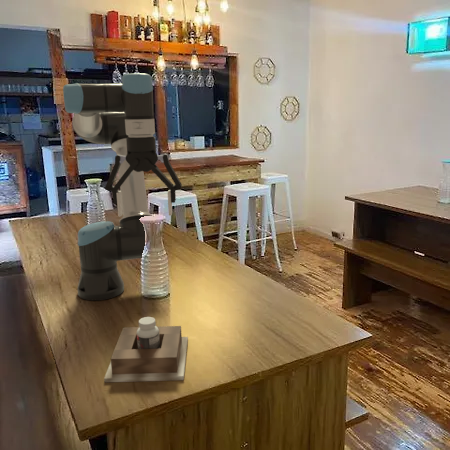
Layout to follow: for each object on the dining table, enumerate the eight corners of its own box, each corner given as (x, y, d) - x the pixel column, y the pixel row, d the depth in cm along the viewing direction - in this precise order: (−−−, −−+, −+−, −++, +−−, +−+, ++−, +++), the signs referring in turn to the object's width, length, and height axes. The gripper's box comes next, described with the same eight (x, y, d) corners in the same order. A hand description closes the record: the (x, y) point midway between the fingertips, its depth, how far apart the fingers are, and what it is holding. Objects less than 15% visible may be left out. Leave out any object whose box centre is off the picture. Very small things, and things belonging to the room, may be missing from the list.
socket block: (104, 382, 103) (102, 362, 102) (120, 341, 120) (118, 324, 119) (183, 380, 103) (182, 360, 102) (187, 340, 121) (187, 323, 119)
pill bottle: (133, 357, 111) (131, 321, 108) (150, 348, 115) (148, 313, 112) (148, 365, 108) (145, 327, 105) (165, 355, 112) (163, 319, 109)
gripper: (88, 137, 114) (96, 219, 120) (187, 136, 115) (190, 217, 120) (96, 135, 121) (103, 212, 127) (189, 134, 122) (191, 210, 128)
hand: (145, 214), depth 124 cm, fingers open, 13 cm apart
